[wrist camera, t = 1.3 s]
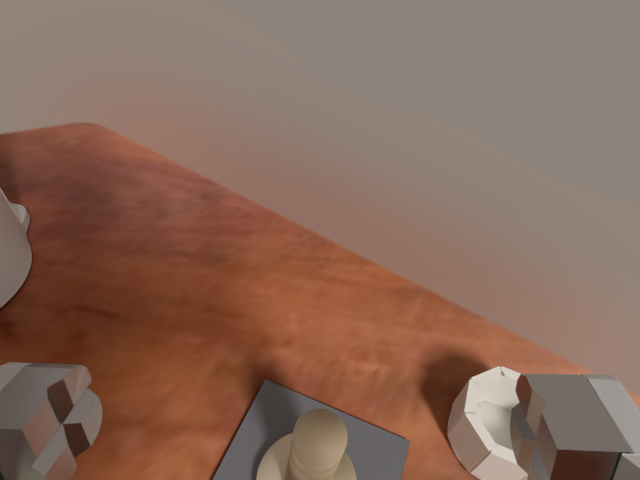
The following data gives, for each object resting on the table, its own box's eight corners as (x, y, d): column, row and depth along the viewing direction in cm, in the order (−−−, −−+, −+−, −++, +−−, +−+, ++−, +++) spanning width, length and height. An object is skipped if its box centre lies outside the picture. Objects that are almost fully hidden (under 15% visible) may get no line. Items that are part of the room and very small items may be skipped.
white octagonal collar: (439, 463, 34) (459, 440, 31) (455, 383, 39) (473, 355, 36) (535, 504, 33) (566, 484, 30) (539, 416, 38) (566, 391, 35)
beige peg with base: (237, 516, 30) (234, 469, 24) (281, 421, 35) (289, 360, 28) (334, 564, 29) (360, 528, 22) (367, 460, 33) (395, 405, 27)
